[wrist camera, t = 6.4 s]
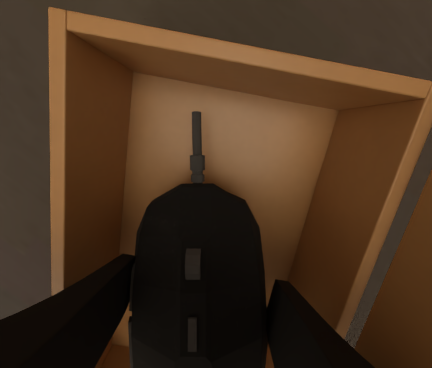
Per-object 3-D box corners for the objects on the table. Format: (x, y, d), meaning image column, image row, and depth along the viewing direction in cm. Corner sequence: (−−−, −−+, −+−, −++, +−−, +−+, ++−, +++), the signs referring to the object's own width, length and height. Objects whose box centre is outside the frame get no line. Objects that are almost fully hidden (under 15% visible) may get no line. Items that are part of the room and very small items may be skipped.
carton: (128, 62, 11) (47, 5, 6) (345, 103, 12) (450, 83, 6) (108, 341, 16) (52, 448, 11) (264, 366, 16) (285, 482, 11)
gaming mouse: (272, 111, 9) (309, 100, 5) (258, 376, 13) (274, 482, 9) (122, 112, 9) (54, 103, 6) (151, 375, 13) (122, 478, 9)
